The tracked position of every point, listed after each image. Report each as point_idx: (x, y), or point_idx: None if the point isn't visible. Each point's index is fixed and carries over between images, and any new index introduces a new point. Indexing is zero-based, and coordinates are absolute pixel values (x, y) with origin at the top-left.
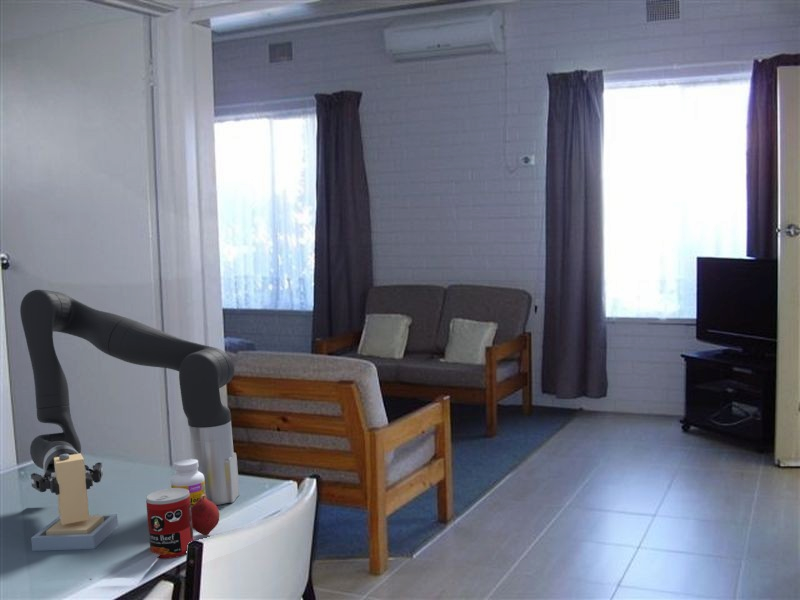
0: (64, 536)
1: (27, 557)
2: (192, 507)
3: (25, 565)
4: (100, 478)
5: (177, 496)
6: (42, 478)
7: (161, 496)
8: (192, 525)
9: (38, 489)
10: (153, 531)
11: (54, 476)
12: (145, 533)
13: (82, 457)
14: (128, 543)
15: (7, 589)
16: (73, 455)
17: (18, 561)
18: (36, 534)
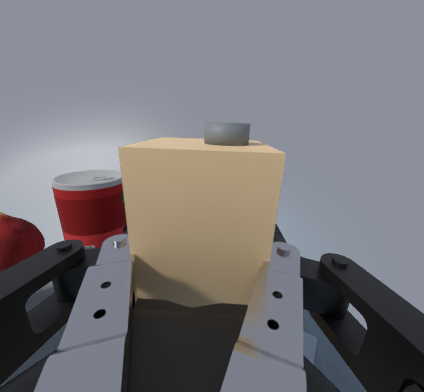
0: None
1: (319, 368)
2: (21, 230)
3: (306, 320)
4: (44, 302)
5: (85, 176)
6: (334, 255)
7: (99, 179)
8: (42, 249)
9: (358, 326)
10: None
11: (276, 263)
12: (47, 349)
13: (156, 139)
14: None
15: (303, 257)
16: (172, 146)
17: (333, 353)
18: (310, 358)
